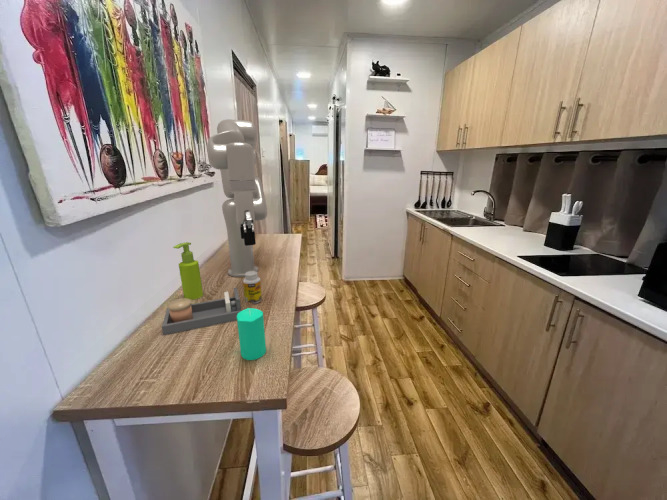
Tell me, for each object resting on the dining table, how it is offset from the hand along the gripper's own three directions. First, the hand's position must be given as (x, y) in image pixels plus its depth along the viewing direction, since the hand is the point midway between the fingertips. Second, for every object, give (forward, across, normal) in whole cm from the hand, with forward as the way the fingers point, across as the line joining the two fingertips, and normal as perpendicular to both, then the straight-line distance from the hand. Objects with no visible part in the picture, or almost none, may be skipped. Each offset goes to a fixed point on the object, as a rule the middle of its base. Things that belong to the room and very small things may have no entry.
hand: (248, 241), depth 88 cm
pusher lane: (+21, +6, -15) cm, 27 cm away
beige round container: (+20, +6, -21) cm, 30 cm away
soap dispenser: (+21, -10, -19) cm, 30 cm away
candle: (+22, +27, -4) cm, 35 cm away
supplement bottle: (+21, -1, 0) cm, 21 cm away
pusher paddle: (+20, +7, -8) cm, 23 cm away
